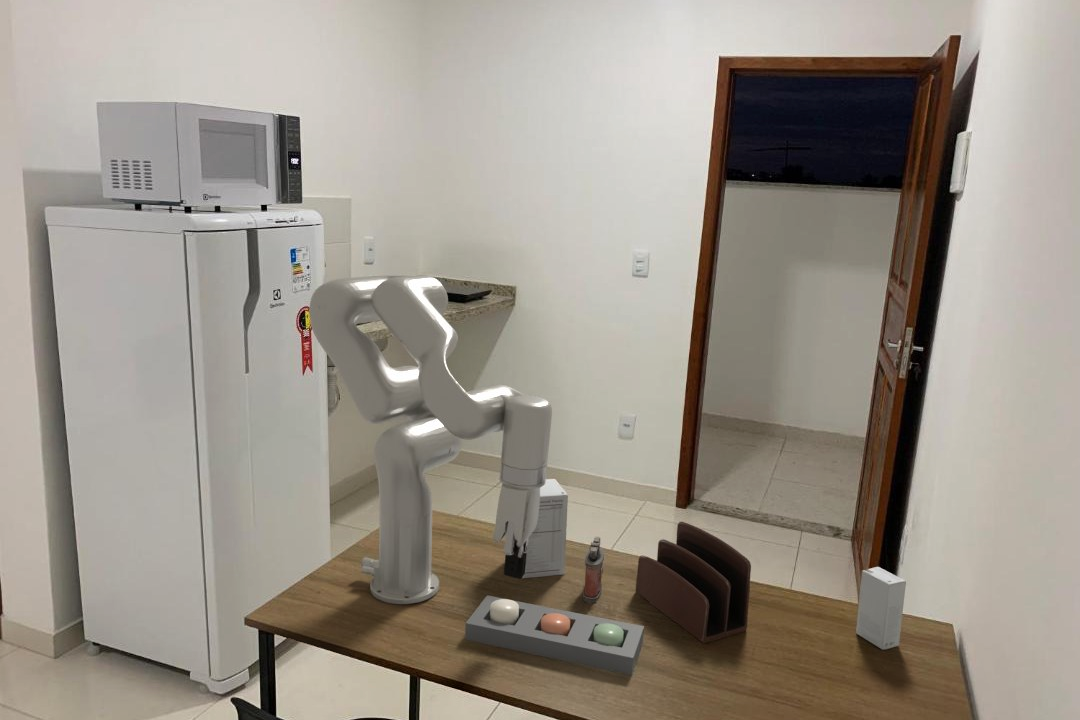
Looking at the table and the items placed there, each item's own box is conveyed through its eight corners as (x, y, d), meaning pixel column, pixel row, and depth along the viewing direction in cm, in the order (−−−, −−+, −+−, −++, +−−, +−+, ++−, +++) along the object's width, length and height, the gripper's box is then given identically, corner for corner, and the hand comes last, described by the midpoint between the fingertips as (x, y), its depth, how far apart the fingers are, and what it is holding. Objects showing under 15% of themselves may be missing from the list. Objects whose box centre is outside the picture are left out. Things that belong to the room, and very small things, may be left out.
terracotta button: (536, 641, 131) (537, 624, 130) (545, 627, 135) (545, 610, 134) (564, 647, 129) (565, 630, 129) (572, 632, 134) (573, 616, 133)
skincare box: (899, 646, 136) (909, 580, 133) (881, 651, 134) (890, 585, 131) (871, 628, 141) (879, 565, 139) (852, 633, 139) (861, 569, 137)
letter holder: (675, 582, 155) (681, 514, 153) (747, 632, 138) (755, 556, 136) (634, 592, 151) (639, 522, 148) (703, 645, 134) (710, 567, 131)
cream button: (485, 626, 133) (486, 610, 132) (495, 612, 137) (496, 597, 137) (512, 632, 132) (513, 615, 131) (521, 618, 136) (522, 602, 135)
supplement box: (552, 554, 164) (556, 477, 161) (565, 575, 156) (570, 494, 152) (507, 558, 162) (510, 480, 159) (518, 579, 153) (522, 496, 150)
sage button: (589, 652, 128) (591, 635, 127) (596, 637, 133) (597, 621, 132) (619, 658, 127) (620, 641, 126) (624, 643, 131) (626, 626, 131)
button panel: (465, 639, 131) (465, 622, 131) (486, 610, 141) (487, 595, 140) (631, 675, 124) (633, 658, 123) (642, 642, 133) (644, 626, 132)
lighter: (598, 603, 145) (602, 552, 143) (580, 600, 146) (583, 550, 144) (604, 583, 153) (607, 535, 151) (586, 581, 154) (589, 532, 152)
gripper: (515, 454, 137) (507, 551, 141) (485, 483, 123) (477, 591, 127) (557, 461, 135) (547, 560, 139) (531, 492, 121) (522, 601, 125)
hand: (514, 574), depth 133 cm, fingers closed
